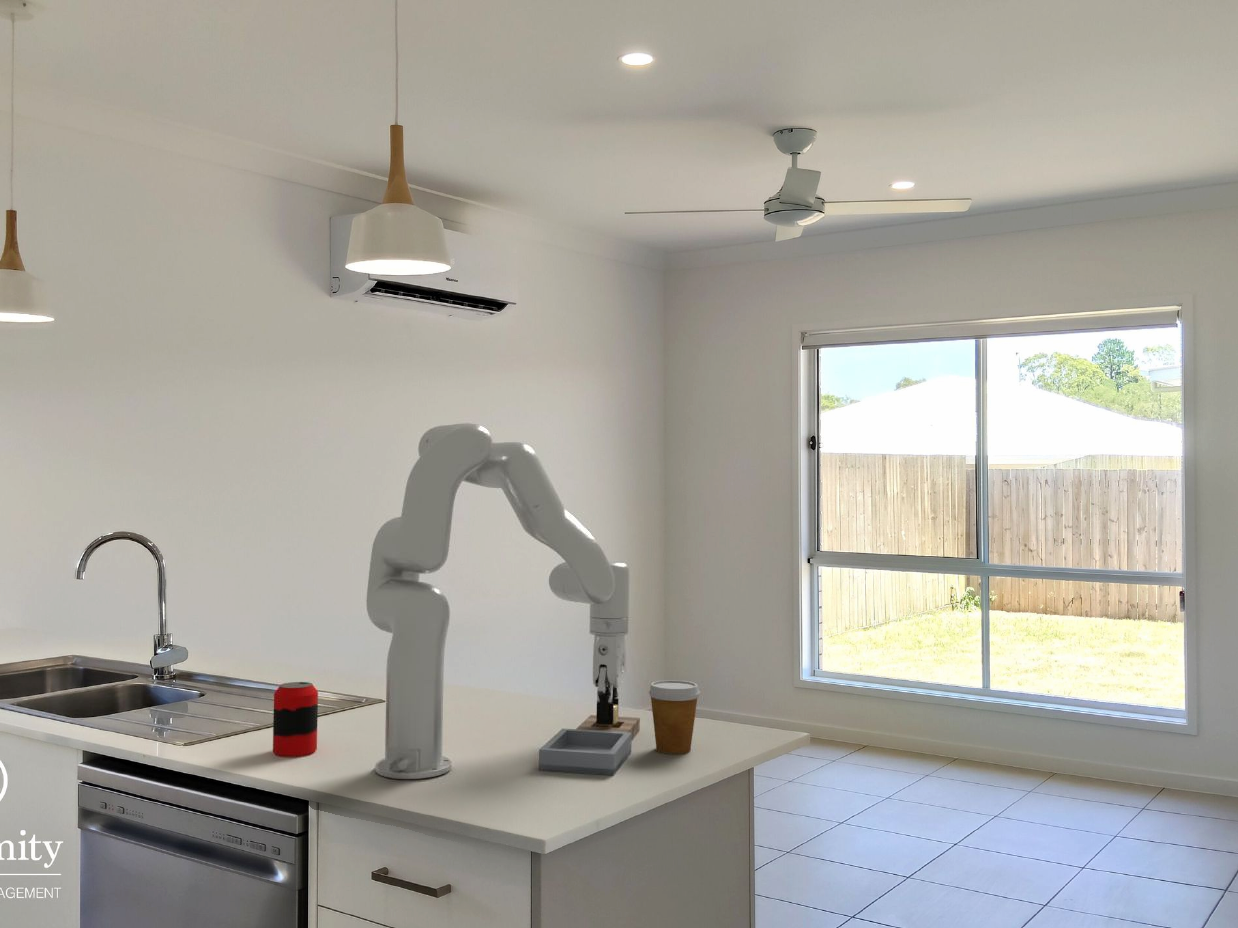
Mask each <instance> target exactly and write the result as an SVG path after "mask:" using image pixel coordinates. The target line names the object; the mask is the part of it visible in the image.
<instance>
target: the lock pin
mask: <svg viewBox="0 0 1238 928" xmlns="http://www.w3.org/2000/svg"><path fill="white" fill-rule="evenodd" d="M618 717H619V704H618V705H616V704H614V713H613V724H612V725H607V724H597V727H609V728H618Z"/></svg>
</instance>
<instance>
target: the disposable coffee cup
mask: <svg viewBox="0 0 1238 928" xmlns="http://www.w3.org/2000/svg"><path fill="white" fill-rule="evenodd" d="M647 692H648V694H649V697H650V700H651V701H650V702H651V709H652V710H651V711H652V712H651V713H652V721H653V729H654V730H653V731H654V738H655V739H654V740H655V748H656V751H658V752H659V753H663V754H668V755H683V754H686V753H690V752H691V748H692V740H693V733H694V727H695V726H694V725H695V719H696V718H695V717H696V710H697V703H698V698H699V695H700V694H701V691H700V690H699V685H698V684H697V683H696V682H693V681H687V680H675V679H673V680H671V679H668V680H667V679H666V680H656V681H653V682H651V684H650V688H649V689H648V691H647Z"/></svg>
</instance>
